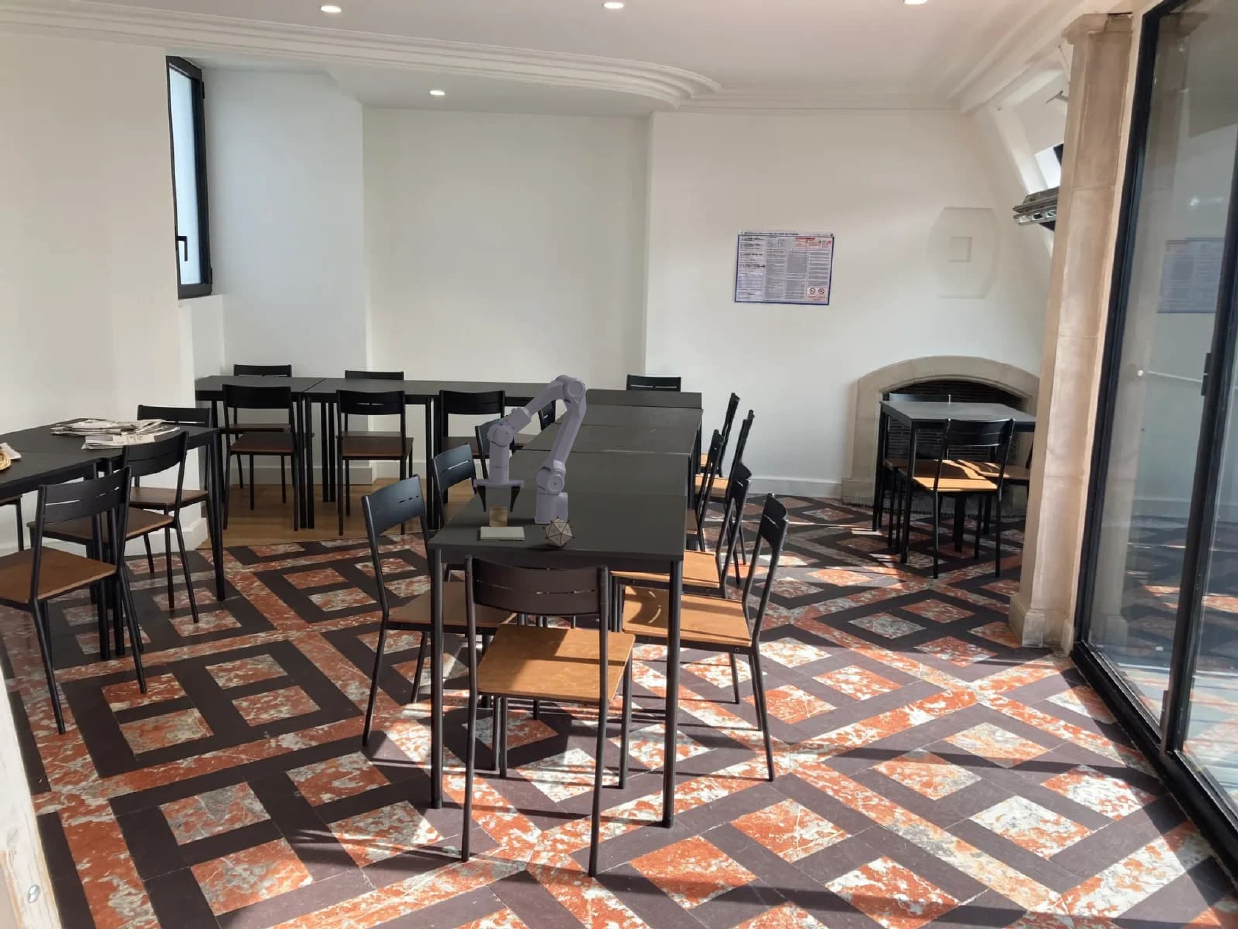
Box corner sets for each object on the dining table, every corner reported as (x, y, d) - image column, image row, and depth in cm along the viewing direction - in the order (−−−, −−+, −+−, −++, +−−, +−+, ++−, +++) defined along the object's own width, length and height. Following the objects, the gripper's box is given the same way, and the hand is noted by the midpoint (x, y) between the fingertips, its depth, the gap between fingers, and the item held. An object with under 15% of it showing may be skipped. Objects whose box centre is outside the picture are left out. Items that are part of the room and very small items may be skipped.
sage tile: (522, 530, 272) (522, 527, 272) (524, 540, 262) (524, 537, 261) (480, 530, 271) (480, 526, 270) (480, 540, 260) (480, 536, 260)
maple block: (506, 523, 280) (506, 506, 279) (506, 527, 275) (507, 511, 274) (489, 523, 279) (489, 506, 278) (489, 527, 274) (489, 510, 273)
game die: (553, 558, 259) (551, 524, 264) (581, 550, 257) (578, 516, 261) (538, 548, 252) (535, 514, 256) (566, 541, 249) (563, 506, 253)
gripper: (523, 463, 279) (522, 508, 281) (474, 462, 277) (473, 507, 279) (524, 468, 272) (523, 514, 274) (473, 467, 270) (472, 513, 272)
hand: (498, 511), depth 276 cm, fingers open, 7 cm apart
